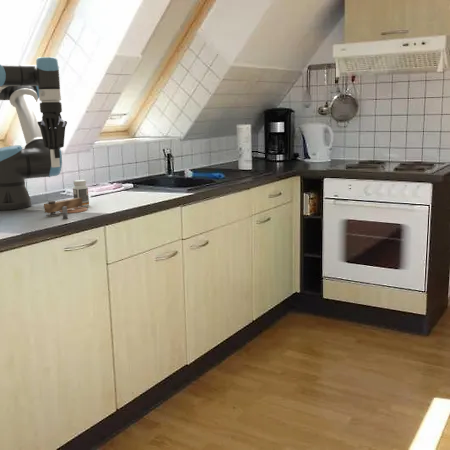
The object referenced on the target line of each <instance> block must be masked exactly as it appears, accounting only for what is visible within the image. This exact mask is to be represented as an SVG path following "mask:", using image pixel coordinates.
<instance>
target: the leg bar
mask: <svg viewBox="0 0 450 450" xmlns="http://www.w3.org/2000/svg"><path fill="white" fill-rule="evenodd" d="M80 206H83V204H82V198H74V197H73V198H69V199H64V200H58V201H56V200H49V201H48V202H47V203H44V204H43V207H44V213H47V214H50V213H52V212H55V213H57V212H60V211H61V210H62V207H67V209H70V208H75V207H80ZM83 207H84V206H83Z"/></svg>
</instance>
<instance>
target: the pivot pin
mask: <svg viewBox="0 0 450 450" xmlns="http://www.w3.org/2000/svg"><path fill="white" fill-rule="evenodd" d="M46 216H47V217H56V216H57V217H58V216H60V213H59V212H58V213H57V212H52V213H47V214H46Z"/></svg>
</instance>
